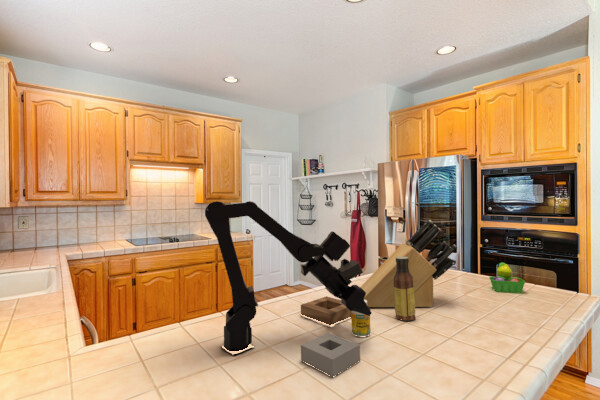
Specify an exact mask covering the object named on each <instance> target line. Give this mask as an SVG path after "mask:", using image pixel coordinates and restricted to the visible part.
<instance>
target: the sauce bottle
mask: <svg viewBox="0 0 600 400" xmlns="http://www.w3.org/2000/svg"><path fill="white" fill-rule="evenodd" d="M408 262H409V259H408V257H396V265H397V269H396V270H397V271H396V274H395V276H394V299H395V307H394V310H395V311H394V312H395V317H396V318H397V319H398V318H399V319H398V320H400V319H402V320H401V321H404V320H408V321H407V322H410V321H409V320H412V321H414V320H415V319H416V307H415V299H414V286H413V277H412V275H411V274H410V272H409V268H408Z"/></svg>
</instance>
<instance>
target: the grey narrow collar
mask: <svg viewBox="0 0 600 400" xmlns="http://www.w3.org/2000/svg"><path fill="white" fill-rule="evenodd" d="M301 360H302V361H304V362H306V363H308V364H310V365H312V366H314V367H315V368H317V369H319V370H321V371H323V372H325V373H327V374H328V375H330V376H332V377H333V376H335V375H337V374H338V373H340V372H342V371H344V370H345V369H347V368H349V367H350V366H352V365H354V364H355V363H357V362H358V361H360V362H361V344H359V343H357V342H354V341H351V340H349V339H346V338H343V337H341V336H339V335H336V334H333V333H330V332H326V333H324V334H322V335H320V336H318V337H315V338H313V339H311V340H309V341H306V342H304V343H302V344H300V361H301ZM358 363H359V362H358ZM358 363H357V364H358ZM355 365H356V364H355ZM355 365H354V366H355ZM352 367H353V366H352ZM350 368H351V367H350ZM350 368H349V369H350ZM347 370H348V369H347ZM345 371H346V370H345ZM345 371H344V372H345ZM342 373H343V372H342ZM328 375H327V376H328ZM330 376H329V377H330ZM337 376H338V375H337ZM332 377H331V378H332Z"/></svg>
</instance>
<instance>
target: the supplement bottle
mask: <svg viewBox="0 0 600 400" xmlns="http://www.w3.org/2000/svg"><path fill="white" fill-rule="evenodd" d="M364 301H365V303H366V304H367V300H364ZM350 320H351V334H352V333H353V334H354V335H357V336H368V335H370V336H371V334H370V333H372V332H371V315H370V316H368V315H365V314H362V313H359V312H355V311H351V319H350ZM353 334H352V335H353ZM354 335H353V336H354ZM368 337H369V336H368Z"/></svg>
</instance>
